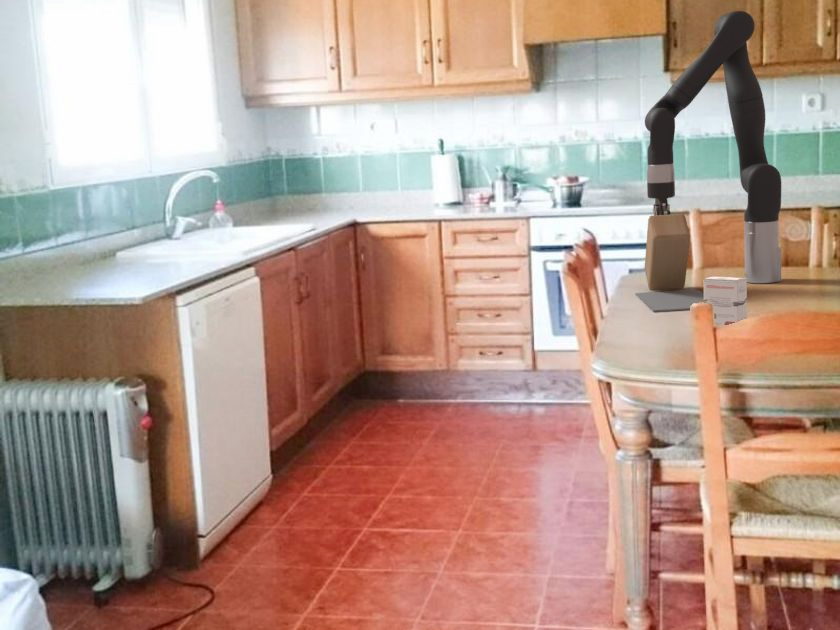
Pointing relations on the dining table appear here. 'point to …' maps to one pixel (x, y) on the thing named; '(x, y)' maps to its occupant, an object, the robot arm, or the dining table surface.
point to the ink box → (726, 298)
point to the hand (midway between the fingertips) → (662, 242)
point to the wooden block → (667, 252)
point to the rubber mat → (671, 299)
